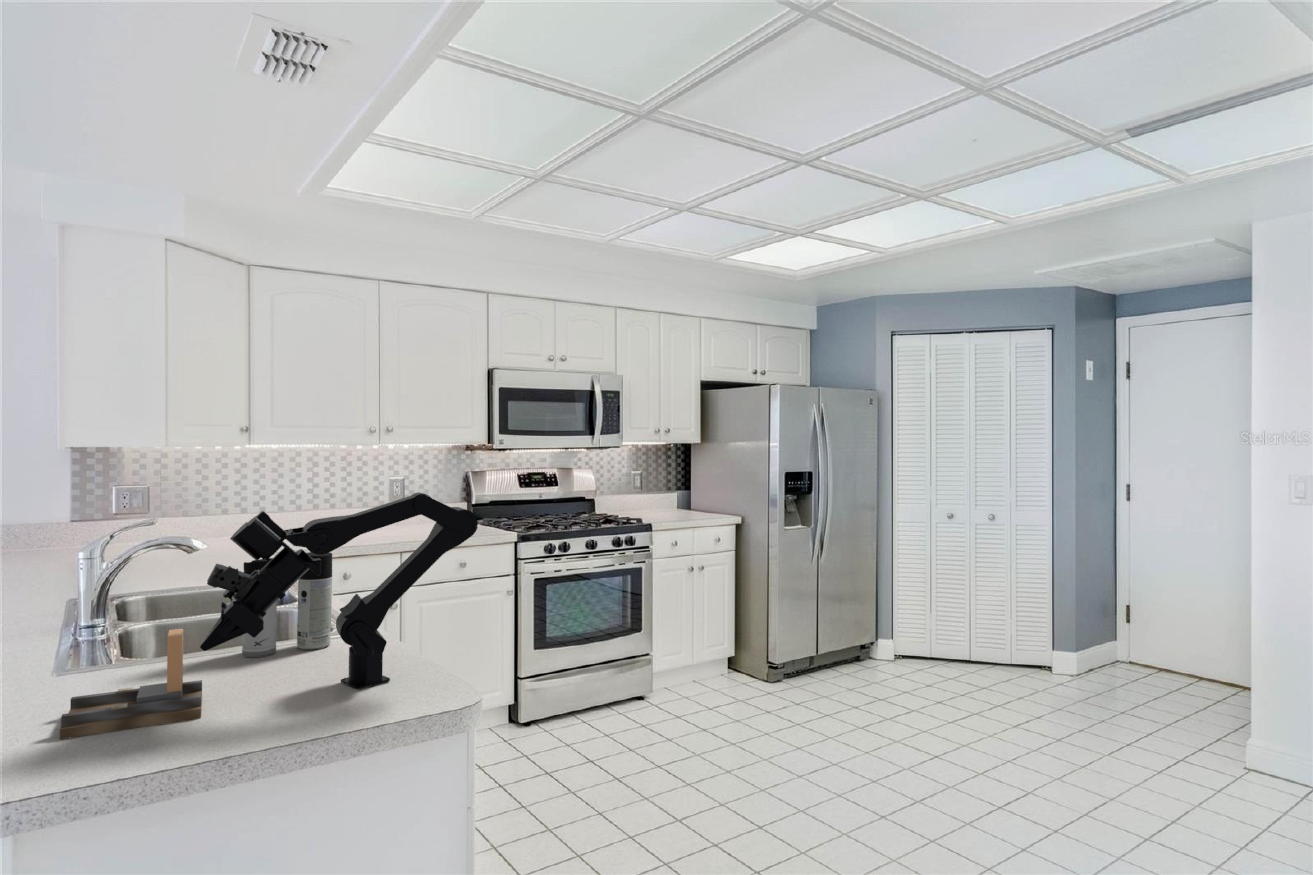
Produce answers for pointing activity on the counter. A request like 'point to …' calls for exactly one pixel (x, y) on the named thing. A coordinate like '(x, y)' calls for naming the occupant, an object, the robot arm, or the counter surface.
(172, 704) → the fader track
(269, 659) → the counter surface
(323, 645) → the spray can
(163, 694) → the fader tab
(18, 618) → the counter surface
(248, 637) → the travel mug
